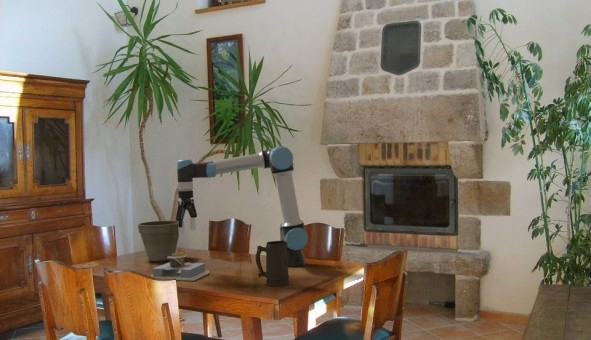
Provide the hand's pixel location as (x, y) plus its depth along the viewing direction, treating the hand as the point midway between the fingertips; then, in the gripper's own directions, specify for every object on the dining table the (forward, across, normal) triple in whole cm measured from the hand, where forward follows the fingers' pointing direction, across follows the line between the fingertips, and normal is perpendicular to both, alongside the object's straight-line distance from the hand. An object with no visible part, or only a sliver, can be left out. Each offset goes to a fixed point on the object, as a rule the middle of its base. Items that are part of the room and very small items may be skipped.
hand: (187, 232), depth 316 cm
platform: (+16, +5, -3) cm, 18 cm away
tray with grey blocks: (+22, +5, -3) cm, 22 cm away
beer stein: (+22, +15, +49) cm, 56 cm away
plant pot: (+22, -41, -36) cm, 59 cm away
